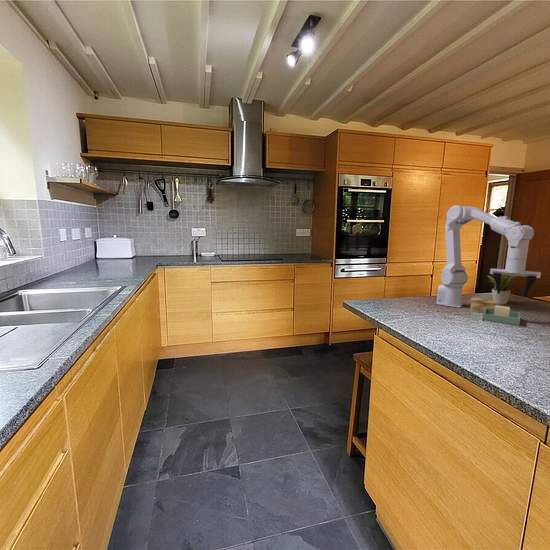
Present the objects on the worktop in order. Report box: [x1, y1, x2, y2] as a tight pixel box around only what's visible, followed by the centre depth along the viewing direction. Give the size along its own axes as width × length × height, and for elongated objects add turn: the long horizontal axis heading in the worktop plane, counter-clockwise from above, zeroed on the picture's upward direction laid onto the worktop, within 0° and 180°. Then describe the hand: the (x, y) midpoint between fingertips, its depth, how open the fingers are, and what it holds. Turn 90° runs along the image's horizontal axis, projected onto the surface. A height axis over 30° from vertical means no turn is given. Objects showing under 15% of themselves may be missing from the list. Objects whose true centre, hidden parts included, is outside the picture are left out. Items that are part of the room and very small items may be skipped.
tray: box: [481, 308, 521, 327], centre depth 114 cm, size 11×11×2 cm
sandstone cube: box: [494, 304, 511, 317], centre depth 114 cm, size 4×4×4 cm
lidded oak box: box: [469, 296, 498, 314], centre depth 125 cm, size 9×6×5 cm, turn 51°
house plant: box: [487, 273, 521, 305], centre depth 139 cm, size 14×14×16 cm
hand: (511, 294), depth 111 cm, fingers open, 7 cm apart
